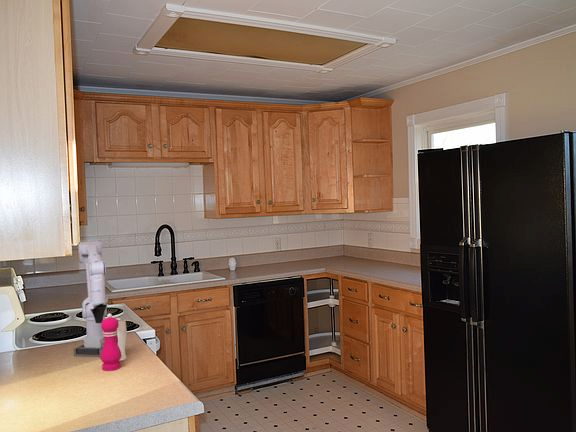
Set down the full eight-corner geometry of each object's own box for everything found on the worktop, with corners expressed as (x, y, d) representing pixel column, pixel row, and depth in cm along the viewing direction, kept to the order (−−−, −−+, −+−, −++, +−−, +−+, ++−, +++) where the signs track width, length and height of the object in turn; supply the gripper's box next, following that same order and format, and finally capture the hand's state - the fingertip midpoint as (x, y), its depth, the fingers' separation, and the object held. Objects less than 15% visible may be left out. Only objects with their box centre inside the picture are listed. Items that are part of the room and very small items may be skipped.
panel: (87, 350, 203) (87, 336, 203) (103, 350, 202) (103, 337, 202) (84, 351, 201) (83, 338, 201) (100, 352, 200) (100, 338, 200)
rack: (87, 349, 207) (86, 341, 207) (113, 350, 205) (113, 342, 205) (74, 356, 198) (73, 347, 198) (101, 357, 196) (101, 348, 196)
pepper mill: (115, 371, 178) (113, 315, 177) (96, 371, 179) (94, 315, 179) (125, 365, 185) (123, 311, 184) (107, 364, 186) (105, 311, 186)
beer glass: (130, 356, 196) (129, 318, 195) (122, 362, 189) (121, 322, 188) (113, 356, 196) (111, 318, 196) (105, 362, 189) (103, 322, 189)
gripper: (95, 287, 216) (97, 318, 216) (80, 293, 202) (81, 327, 202) (112, 287, 216) (113, 318, 216) (97, 293, 201) (98, 327, 202)
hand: (99, 322), depth 209 cm, fingers closed
